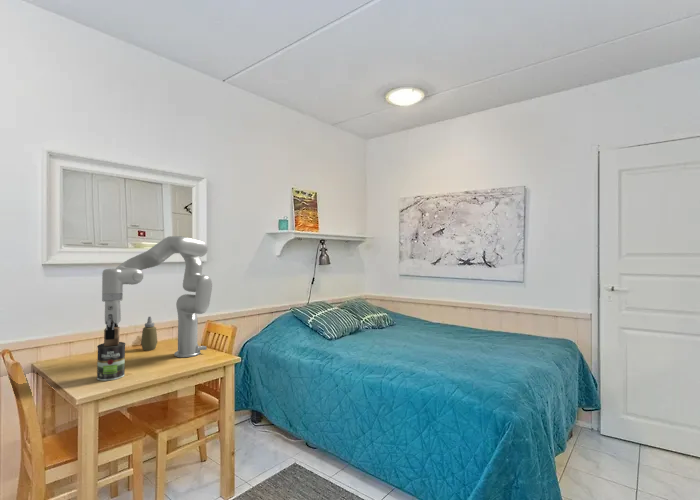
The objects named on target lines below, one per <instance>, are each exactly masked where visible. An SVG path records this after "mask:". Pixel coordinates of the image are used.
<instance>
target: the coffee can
mask: <svg viewBox="0 0 700 500" xmlns="http://www.w3.org/2000/svg"><path fill="white" fill-rule="evenodd" d="M125 359H126V342H124V341H119V344H118V345H114V346H104V342H103V343H100V344H98V345H97V366H96V367H97V368H96V370H97V371H96V380H98V381H101V382H108V381H110V382H111V381H115V380H119V379H122V378H124V377H125V367H126V365H125V364H126V361H125Z"/></svg>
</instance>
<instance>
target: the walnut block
mask: <svg viewBox="0 0 700 500" xmlns="http://www.w3.org/2000/svg"><path fill="white" fill-rule="evenodd" d="M114 329H115V338H114V339H110V340H106V327H105V328H104V329H103V332H104V333H103V334H104V335H103V336H104V337H103V340H104V341H103V343H104V346H114V345H118V344H119V342H120V326H118V327H114Z"/></svg>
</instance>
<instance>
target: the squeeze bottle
mask: <svg viewBox="0 0 700 500" xmlns="http://www.w3.org/2000/svg"><path fill="white" fill-rule="evenodd" d="M141 331H142V332H141V339H140V341H141V342H140V344H141V347H142V350H143V351H148V352H149V351H154V350H156V348H157V345H158V334H157V333H158V332H157V327H156V326H155V322H153V320H152V317H151V316H148V317H147V321H146V322H145V323H144V327H143V328H142V330H141Z"/></svg>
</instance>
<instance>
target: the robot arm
mask: <svg viewBox="0 0 700 500" xmlns="http://www.w3.org/2000/svg"><path fill="white" fill-rule="evenodd" d="M208 247H209V246H208V245H207V243H206V242H205V241H203V240H200V239H196V238H195V239H194V238H191V237H187V236H182V235H181V236H177V235H175V236H174V235H171V236H170V235H169V236H167V237H164V238H163V239H162V240H160V241H158V243H156V244H155V245H154V246H152V247H150V248H149V249H147V250H146V251H144V252H142V253H140V254H138V255H136V256H132V257H129V259H127V260H125V261H124V262H122V263H121V264H120V265H118V266H117V267H116V268H104V269H103V270H102V272H101V273H102V275H101V276H102V281H101V282H102V285H101V302H104V325H106V326H105V328H106V340H110V339H114V338H115V329H114V327H119V323H120V322H121V321H122V318H121V316H122V315H121V312H122V311H121V301H123V298H124V296H123V292H124V291H123V289H124V288H123V287H124V286H123V285H137V284H140V283H141V282H142V281H143V279H144V272H143V270H145V269H150V268H151V269H152V268H155V267H158V266H160V265H161V264H162V263H164V262H165V261H167V259H168V258H170V257H171V256H173V255H174V254H179V255H180V256H182V258H183V260H184V263H185V269H184V274H183V280H182V281H183V282H182V288H183V290H184V291H186V292H189V293H190V294H189V293H185V294H182V295H180V296H179V297H177V299H176V310H177V311H176V312H177V325H178V326H177V351H175V352H174V357H177V358H191V357H195V356H199V355H200V354H201V351H207V345H199V344H198V329H199V328H198V323H199V322H198V321H199V320H198V316H197V314H198V315H203V314H205V313H206V312H207V311H208V309H209V308H210V304H211V303H210V302H211V296H212V291H213V282H212V279H211V277H210V276H208V275H207V274H203V261H202V259H201V257H204V256H205V255H206V254H207V253H208V250H209V248H208ZM191 293H195V294H191Z"/></svg>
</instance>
